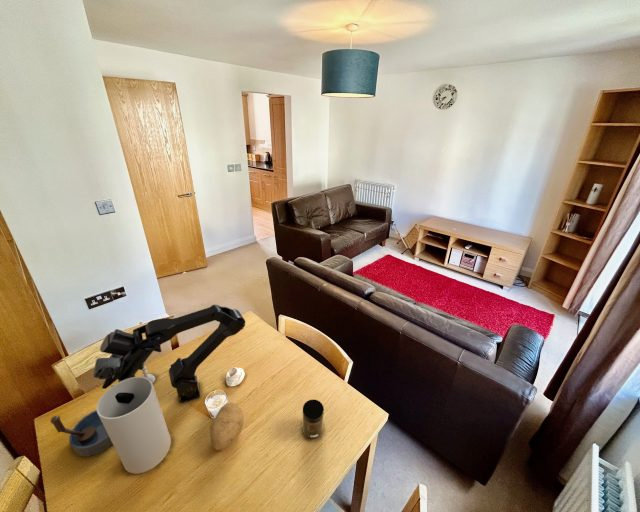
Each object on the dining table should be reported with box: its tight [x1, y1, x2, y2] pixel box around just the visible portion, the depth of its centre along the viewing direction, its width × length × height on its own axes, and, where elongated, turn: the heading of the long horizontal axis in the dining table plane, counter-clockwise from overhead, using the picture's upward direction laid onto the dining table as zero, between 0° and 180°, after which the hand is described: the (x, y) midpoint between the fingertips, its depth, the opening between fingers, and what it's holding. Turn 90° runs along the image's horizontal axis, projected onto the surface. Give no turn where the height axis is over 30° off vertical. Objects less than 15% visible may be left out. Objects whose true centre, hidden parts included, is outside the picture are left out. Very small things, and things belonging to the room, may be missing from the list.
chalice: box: [141, 338, 156, 384], centre depth 102 cm, size 7×7×18 cm
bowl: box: [68, 409, 113, 457], centre depth 86 cm, size 13×13×4 cm
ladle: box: [50, 415, 96, 443], centre depth 82 cm, size 8×4×12 cm, turn 117°
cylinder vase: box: [96, 376, 172, 475], centre depth 78 cm, size 12×12×25 cm
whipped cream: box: [225, 366, 246, 387], centre depth 106 cm, size 8×7×5 cm
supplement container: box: [302, 399, 325, 440], centre depth 88 cm, size 7×7×10 cm
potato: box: [209, 402, 244, 451], centre depth 87 cm, size 10×14×8 cm
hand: (103, 399), depth 84 cm, fingers open, 9 cm apart
